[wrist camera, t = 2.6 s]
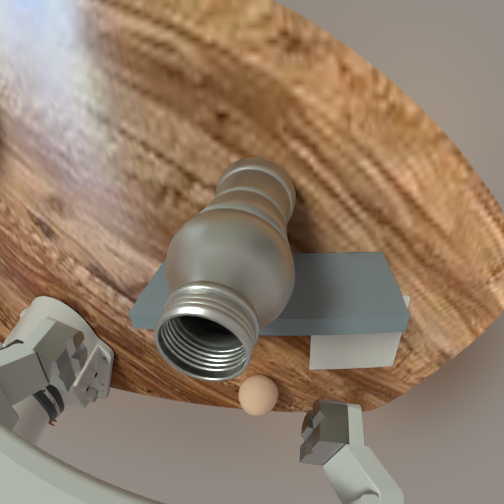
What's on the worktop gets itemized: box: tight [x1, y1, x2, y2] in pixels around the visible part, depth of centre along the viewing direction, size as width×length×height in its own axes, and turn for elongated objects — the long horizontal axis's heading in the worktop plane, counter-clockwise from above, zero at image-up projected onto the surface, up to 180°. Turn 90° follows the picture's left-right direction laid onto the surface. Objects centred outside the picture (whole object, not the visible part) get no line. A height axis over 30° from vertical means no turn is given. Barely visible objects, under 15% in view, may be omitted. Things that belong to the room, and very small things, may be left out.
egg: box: [239, 375, 278, 416], centre depth 38 cm, size 5×5×6 cm
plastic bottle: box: [154, 157, 296, 381], centre depth 20 cm, size 6×7×20 cm
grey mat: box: [309, 296, 410, 370], centre depth 35 cm, size 11×11×1 cm
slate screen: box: [129, 252, 410, 336], centre depth 29 cm, size 6×22×10 cm, turn 95°
